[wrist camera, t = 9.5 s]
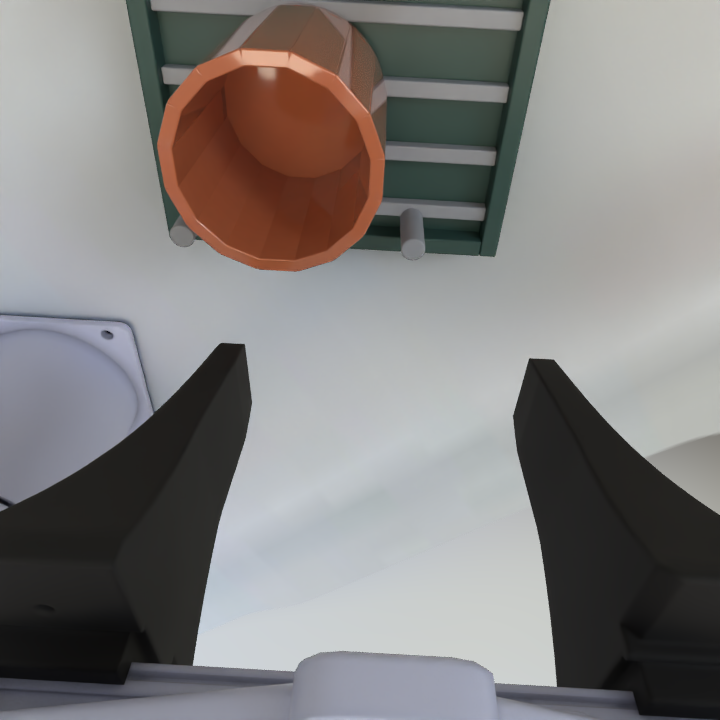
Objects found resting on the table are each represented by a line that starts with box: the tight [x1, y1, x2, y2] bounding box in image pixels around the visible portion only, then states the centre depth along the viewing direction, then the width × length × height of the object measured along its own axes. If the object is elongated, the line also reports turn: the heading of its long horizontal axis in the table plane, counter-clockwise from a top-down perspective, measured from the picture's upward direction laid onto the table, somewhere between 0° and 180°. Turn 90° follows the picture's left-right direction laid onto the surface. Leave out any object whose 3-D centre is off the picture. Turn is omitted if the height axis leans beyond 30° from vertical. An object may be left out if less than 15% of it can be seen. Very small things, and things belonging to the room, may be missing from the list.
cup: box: [157, 3, 387, 272], centre depth 16 cm, size 5×5×6 cm
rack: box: [126, 0, 550, 260], centre depth 16 cm, size 12×13×6 cm
